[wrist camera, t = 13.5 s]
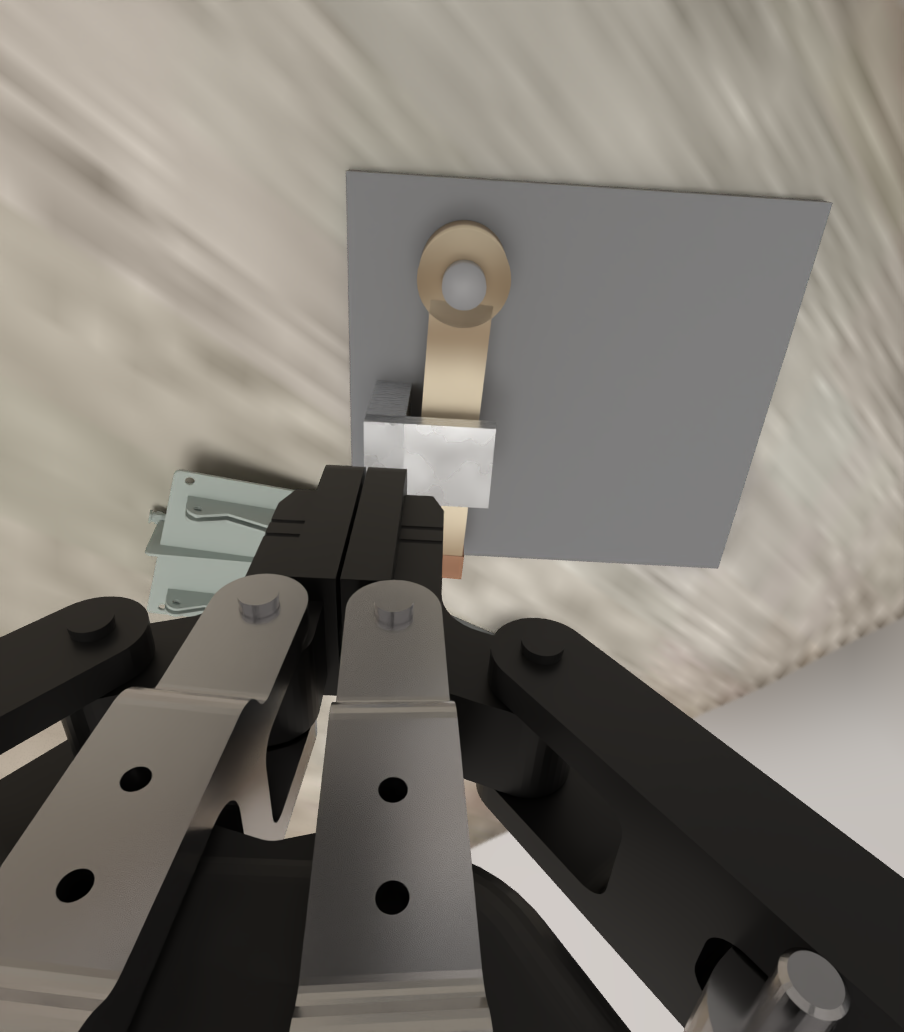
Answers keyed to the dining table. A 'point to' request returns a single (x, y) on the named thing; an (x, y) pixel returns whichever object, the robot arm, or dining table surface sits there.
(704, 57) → the dining table surface
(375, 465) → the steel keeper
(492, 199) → the base plate
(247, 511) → the metal bracket
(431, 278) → the brass latch lever
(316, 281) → the dining table surface
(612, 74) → the dining table surface
